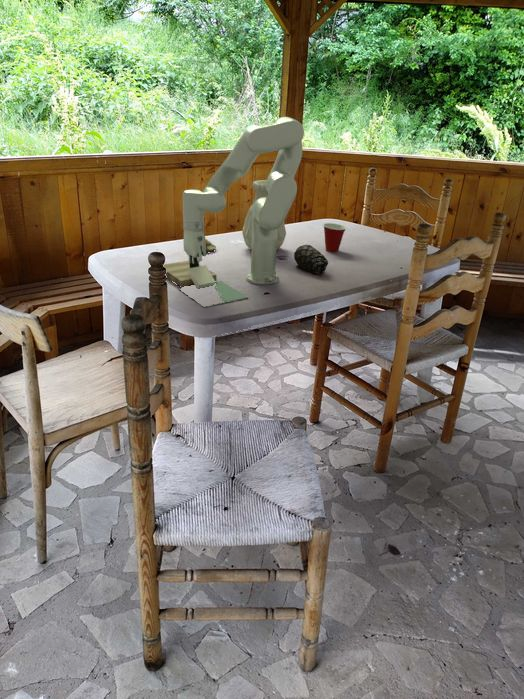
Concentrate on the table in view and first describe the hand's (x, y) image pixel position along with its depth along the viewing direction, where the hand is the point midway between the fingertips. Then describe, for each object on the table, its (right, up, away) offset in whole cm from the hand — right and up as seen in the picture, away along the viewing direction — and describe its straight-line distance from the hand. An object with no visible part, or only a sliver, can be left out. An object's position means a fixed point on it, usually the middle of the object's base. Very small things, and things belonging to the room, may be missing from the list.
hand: (194, 272), depth 210 cm
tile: (+3, -3, -3) cm, 5 cm away
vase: (+26, +16, +43) cm, 53 cm away
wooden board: (-4, -1, +6) cm, 7 cm away
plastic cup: (+59, +16, +46) cm, 76 cm away
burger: (-1, +15, +39) cm, 42 cm away
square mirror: (+8, -9, -9) cm, 15 cm away
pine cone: (+47, +4, +20) cm, 51 cm away
